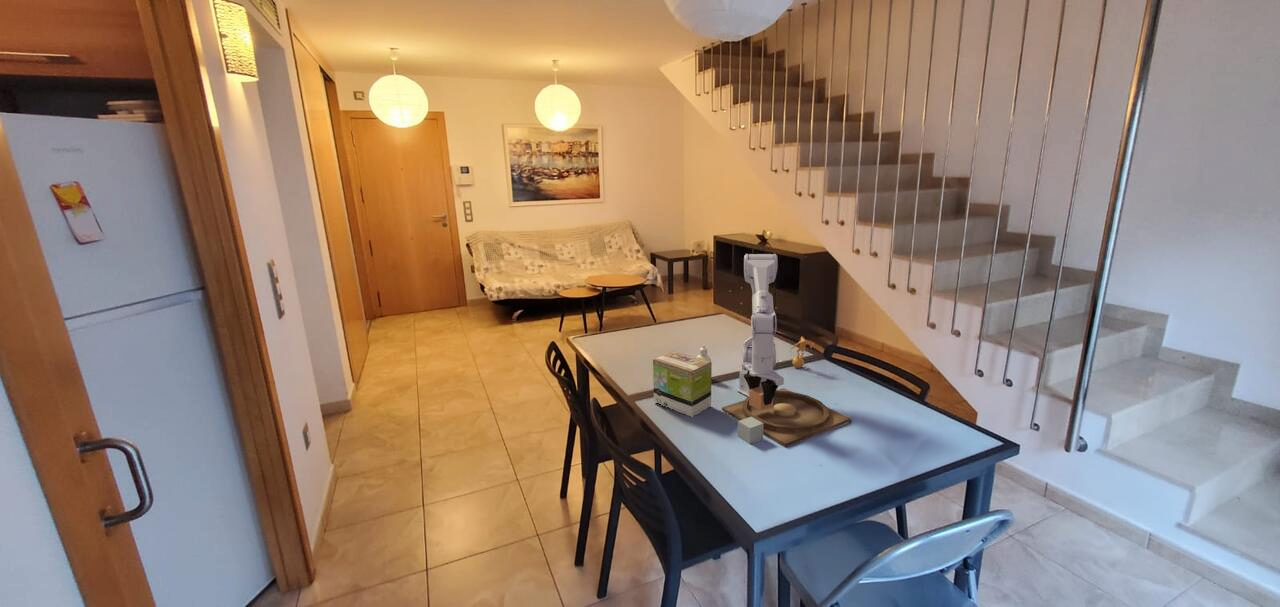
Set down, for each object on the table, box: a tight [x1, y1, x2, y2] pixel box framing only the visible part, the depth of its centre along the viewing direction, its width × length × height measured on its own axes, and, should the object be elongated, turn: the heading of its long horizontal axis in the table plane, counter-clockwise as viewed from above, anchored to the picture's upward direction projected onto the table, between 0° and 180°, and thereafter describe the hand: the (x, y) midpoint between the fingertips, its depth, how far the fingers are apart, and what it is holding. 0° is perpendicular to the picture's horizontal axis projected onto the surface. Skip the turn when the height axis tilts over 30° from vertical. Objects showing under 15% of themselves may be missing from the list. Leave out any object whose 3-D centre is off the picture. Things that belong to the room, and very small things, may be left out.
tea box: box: [652, 350, 713, 418], centre depth 153 cm, size 15×10×15 cm
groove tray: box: [721, 387, 852, 448], centre depth 146 cm, size 25×25×2 cm
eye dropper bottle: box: [696, 344, 712, 362], centre depth 173 cm, size 4×6×12 cm
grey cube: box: [737, 417, 764, 445], centre depth 134 cm, size 5×5×5 cm
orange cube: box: [749, 386, 773, 411], centre depth 145 cm, size 5×5×5 cm
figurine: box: [789, 336, 813, 369], centre depth 179 cm, size 8×6×12 cm
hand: (761, 400), depth 145 cm, fingers closed on orange cube, 5 cm apart
